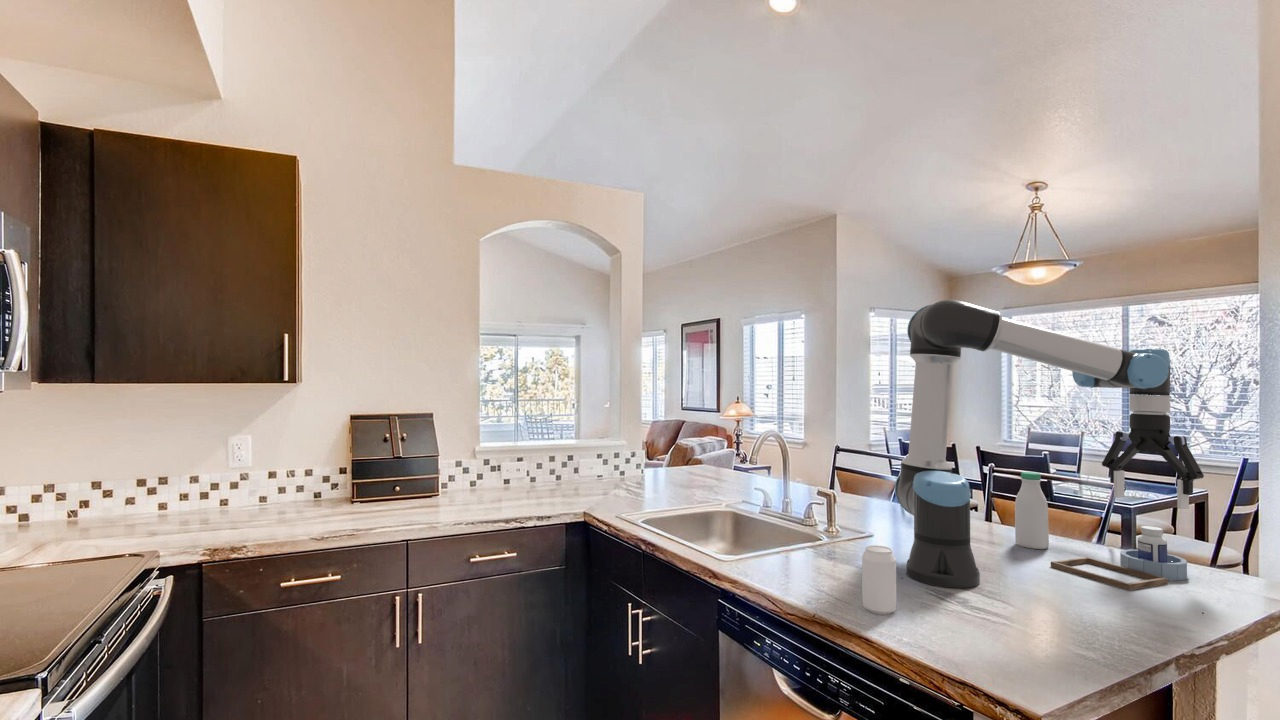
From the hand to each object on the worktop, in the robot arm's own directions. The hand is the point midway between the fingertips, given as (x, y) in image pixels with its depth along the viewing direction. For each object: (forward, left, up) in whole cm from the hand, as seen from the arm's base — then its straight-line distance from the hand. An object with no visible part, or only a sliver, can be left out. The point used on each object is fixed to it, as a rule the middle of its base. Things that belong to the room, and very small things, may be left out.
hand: (1149, 502), depth 146 cm
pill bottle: (0, 0, -16) cm, 16 cm away
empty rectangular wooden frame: (-13, +2, -16) cm, 21 cm away
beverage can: (-79, +1, -17) cm, 80 cm away
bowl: (0, 0, -16) cm, 16 cm away
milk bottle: (-6, +26, -17) cm, 31 cm away
